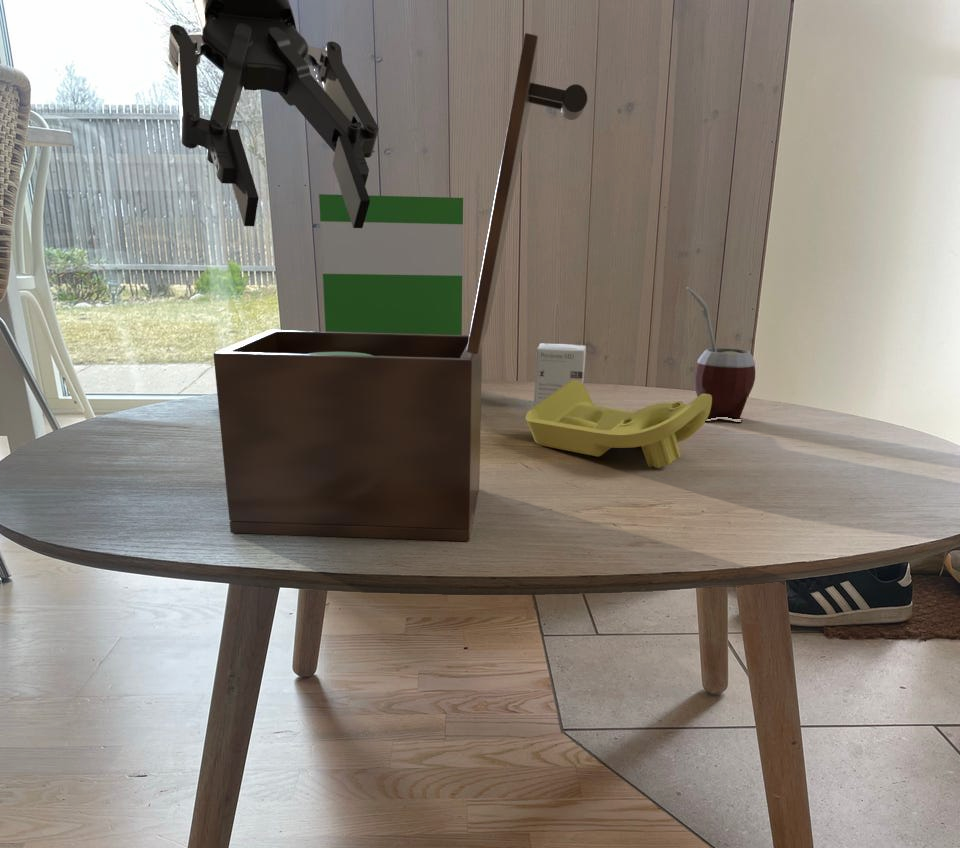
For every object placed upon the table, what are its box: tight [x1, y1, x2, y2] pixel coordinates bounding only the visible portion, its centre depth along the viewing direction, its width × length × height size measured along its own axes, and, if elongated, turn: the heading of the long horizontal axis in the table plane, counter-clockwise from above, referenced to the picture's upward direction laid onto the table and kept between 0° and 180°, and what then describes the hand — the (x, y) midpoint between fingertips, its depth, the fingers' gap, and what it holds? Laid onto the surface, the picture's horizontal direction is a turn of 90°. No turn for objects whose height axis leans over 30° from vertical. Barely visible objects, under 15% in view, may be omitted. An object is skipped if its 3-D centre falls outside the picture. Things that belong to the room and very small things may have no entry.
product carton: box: [533, 342, 587, 407], centre depth 117 cm, size 6×6×7 cm
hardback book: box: [318, 193, 464, 335], centre depth 122 cm, size 18×7×24 cm, turn 97°
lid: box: [467, 32, 588, 354], centre depth 65 cm, size 19×15×5 cm
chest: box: [213, 329, 483, 542], centre depth 72 cm, size 18×15×13 cm
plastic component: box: [525, 380, 712, 469], centre depth 93 cm, size 20×7×10 cm
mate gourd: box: [685, 286, 756, 419], centre depth 110 cm, size 8×8×15 cm
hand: (307, 213), depth 69 cm, fingers open, 8 cm apart
